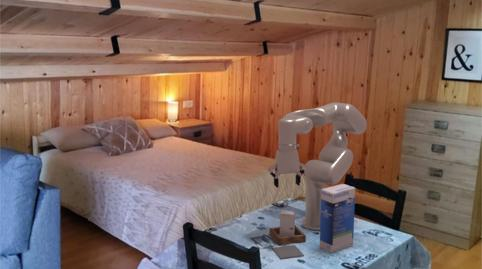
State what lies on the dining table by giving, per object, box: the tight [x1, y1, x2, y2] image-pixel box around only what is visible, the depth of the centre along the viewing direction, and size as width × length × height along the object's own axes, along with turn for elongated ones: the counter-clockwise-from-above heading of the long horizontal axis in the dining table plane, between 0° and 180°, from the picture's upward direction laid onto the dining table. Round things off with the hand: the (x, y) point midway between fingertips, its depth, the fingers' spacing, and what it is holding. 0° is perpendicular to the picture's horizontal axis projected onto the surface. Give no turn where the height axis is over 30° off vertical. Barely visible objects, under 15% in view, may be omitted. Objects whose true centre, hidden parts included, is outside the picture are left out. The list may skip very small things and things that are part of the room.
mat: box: [272, 244, 305, 260], centre depth 200 cm, size 10×10×1 cm
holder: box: [268, 224, 307, 246], centre depth 214 cm, size 12×12×3 cm
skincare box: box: [279, 209, 296, 237], centre depth 213 cm, size 6×4×12 cm
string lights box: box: [319, 183, 356, 254], centre depth 203 cm, size 13×8×26 cm, turn 124°
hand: (287, 185), depth 210 cm, fingers open, 9 cm apart
